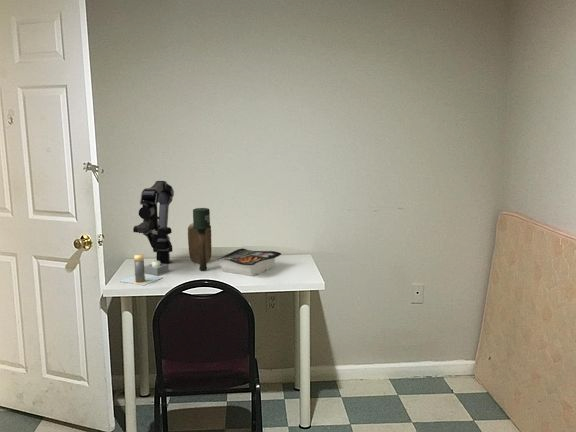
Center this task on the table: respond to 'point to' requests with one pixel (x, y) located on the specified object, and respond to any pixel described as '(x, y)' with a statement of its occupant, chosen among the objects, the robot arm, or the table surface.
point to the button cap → (155, 263)
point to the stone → (198, 244)
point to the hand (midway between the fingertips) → (153, 247)
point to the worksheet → (147, 280)
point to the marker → (139, 268)
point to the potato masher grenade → (202, 232)
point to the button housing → (156, 269)
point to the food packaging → (248, 261)
